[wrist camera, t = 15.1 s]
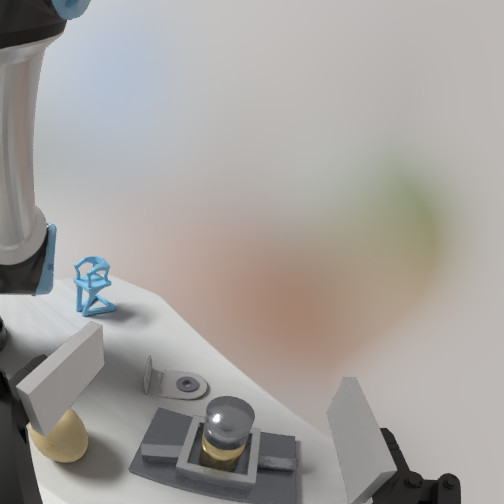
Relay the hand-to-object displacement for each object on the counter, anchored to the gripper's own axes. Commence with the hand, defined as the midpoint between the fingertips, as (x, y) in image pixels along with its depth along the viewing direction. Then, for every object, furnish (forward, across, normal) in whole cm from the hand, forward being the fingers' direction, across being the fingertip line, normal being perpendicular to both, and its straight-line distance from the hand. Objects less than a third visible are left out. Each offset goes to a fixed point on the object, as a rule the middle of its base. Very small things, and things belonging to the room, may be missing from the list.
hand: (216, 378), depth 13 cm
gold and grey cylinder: (+10, +2, -22) cm, 24 cm away
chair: (+39, -32, -22) cm, 55 cm away
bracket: (+24, -7, -23) cm, 34 cm away
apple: (+5, -18, -24) cm, 30 cm away
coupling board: (+11, +2, -23) cm, 25 cm away
